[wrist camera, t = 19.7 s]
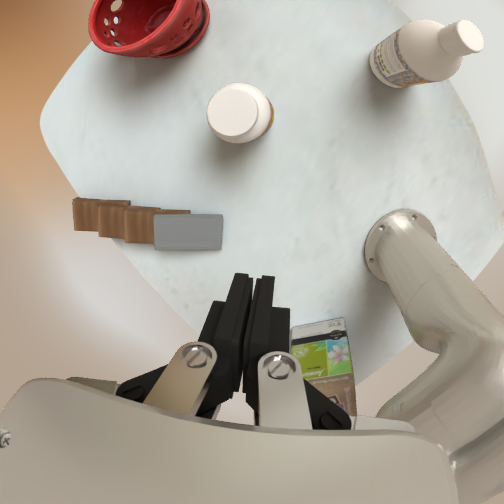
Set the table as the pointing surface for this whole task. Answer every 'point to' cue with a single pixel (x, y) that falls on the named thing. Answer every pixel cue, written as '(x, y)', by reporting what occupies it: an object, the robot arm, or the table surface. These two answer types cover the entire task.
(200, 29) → the plant pot
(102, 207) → the domino
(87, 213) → the domino
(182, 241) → the head domino
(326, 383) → the tea box
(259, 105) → the supplement bottle
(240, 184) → the table surface
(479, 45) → the bath foam
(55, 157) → the table surface
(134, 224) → the domino
